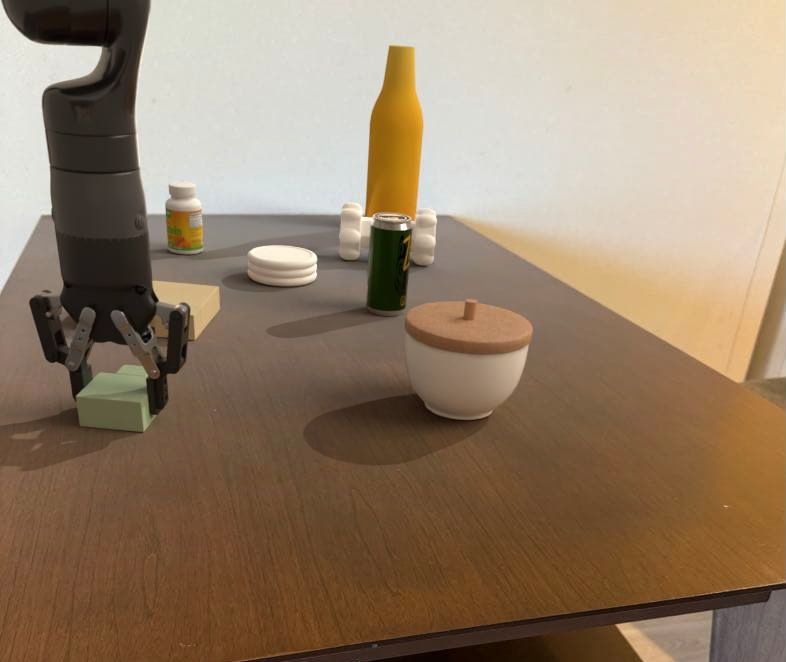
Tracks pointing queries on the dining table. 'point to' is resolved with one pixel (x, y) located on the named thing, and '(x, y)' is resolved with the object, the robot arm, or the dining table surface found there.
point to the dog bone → (358, 233)
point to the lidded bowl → (465, 356)
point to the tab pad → (116, 401)
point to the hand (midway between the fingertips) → (121, 407)
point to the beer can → (388, 263)
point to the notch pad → (196, 296)
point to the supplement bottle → (184, 219)
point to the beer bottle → (395, 139)
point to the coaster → (282, 265)
